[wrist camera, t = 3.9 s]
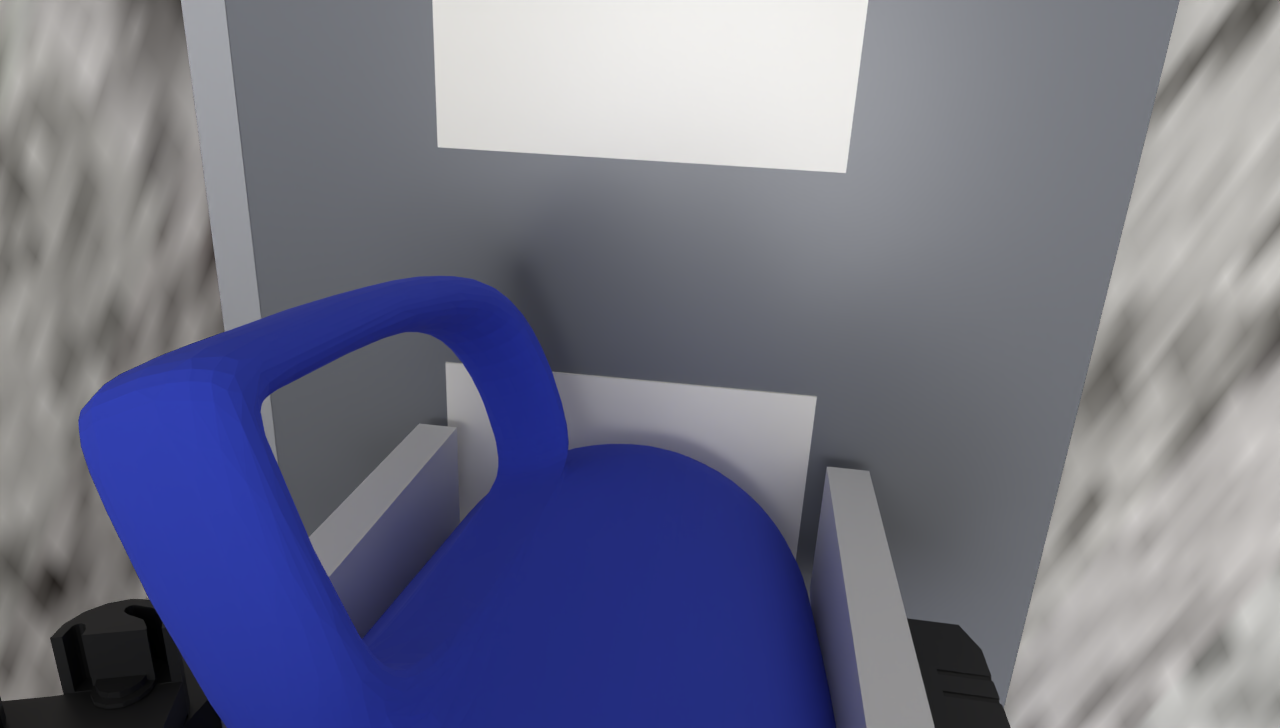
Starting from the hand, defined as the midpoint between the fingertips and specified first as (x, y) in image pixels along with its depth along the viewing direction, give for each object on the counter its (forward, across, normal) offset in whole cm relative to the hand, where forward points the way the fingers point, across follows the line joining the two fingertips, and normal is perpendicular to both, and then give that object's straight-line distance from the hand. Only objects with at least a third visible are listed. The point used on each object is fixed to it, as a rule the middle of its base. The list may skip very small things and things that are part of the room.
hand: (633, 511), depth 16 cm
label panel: (+1, 0, -4) cm, 5 cm away
